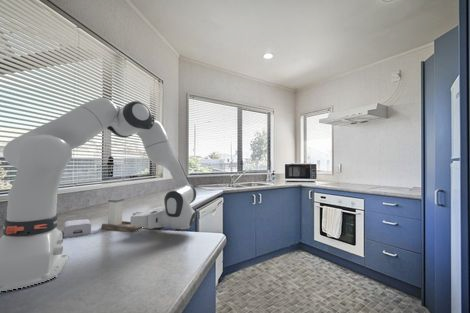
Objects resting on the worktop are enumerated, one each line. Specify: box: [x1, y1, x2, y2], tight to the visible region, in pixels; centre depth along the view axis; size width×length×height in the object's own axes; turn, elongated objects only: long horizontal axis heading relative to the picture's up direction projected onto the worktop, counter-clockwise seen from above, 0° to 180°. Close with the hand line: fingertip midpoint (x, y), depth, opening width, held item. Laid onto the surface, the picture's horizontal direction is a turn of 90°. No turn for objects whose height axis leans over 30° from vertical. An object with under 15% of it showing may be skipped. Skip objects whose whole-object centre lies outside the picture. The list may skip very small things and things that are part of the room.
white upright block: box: [107, 197, 125, 225], centre depth 107 cm, size 4×5×12 cm
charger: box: [63, 218, 92, 238], centre depth 99 cm, size 5×9×15 cm
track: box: [101, 220, 143, 233], centre depth 106 cm, size 17×8×2 cm, turn 78°
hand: (134, 214), depth 105 cm, fingers closed
